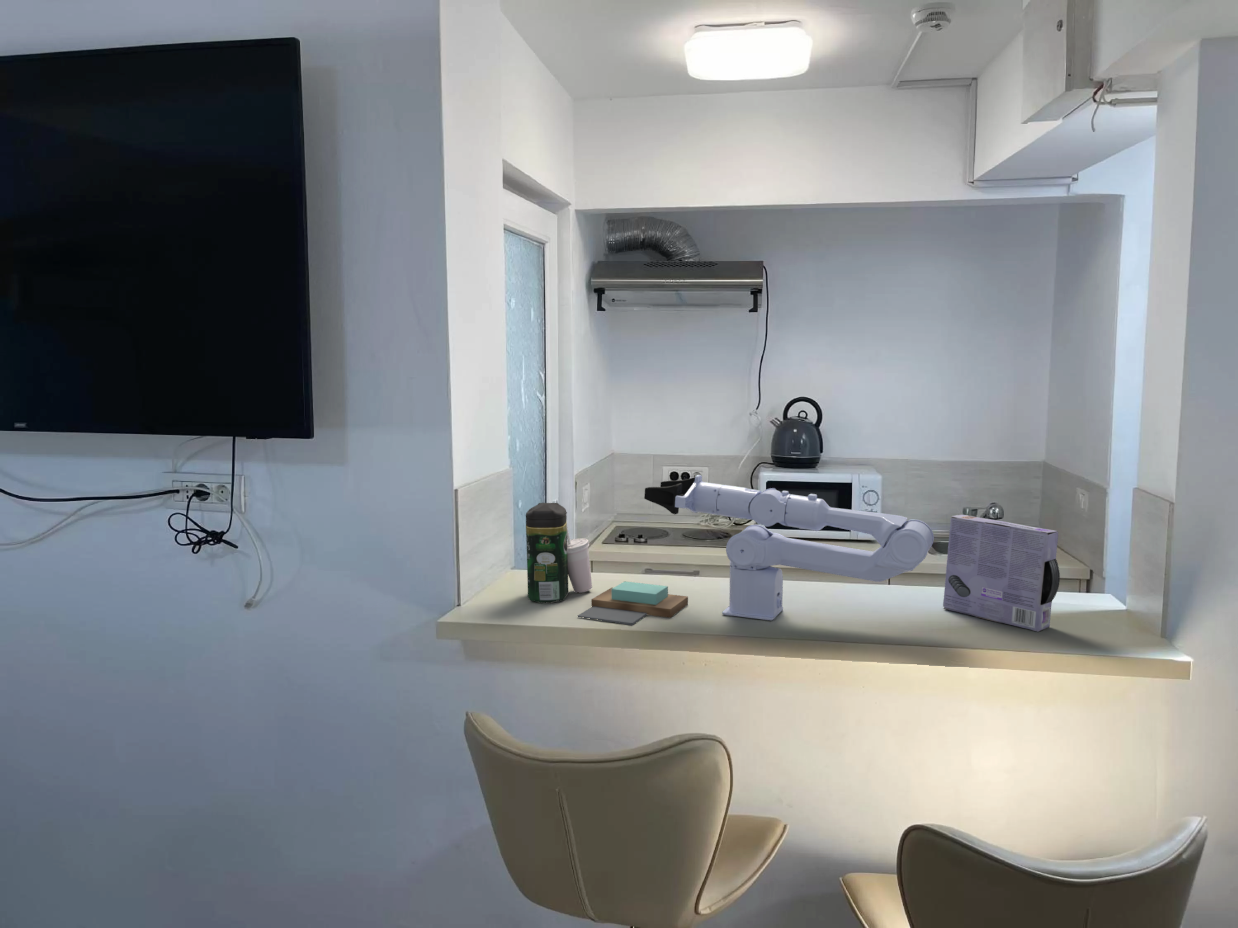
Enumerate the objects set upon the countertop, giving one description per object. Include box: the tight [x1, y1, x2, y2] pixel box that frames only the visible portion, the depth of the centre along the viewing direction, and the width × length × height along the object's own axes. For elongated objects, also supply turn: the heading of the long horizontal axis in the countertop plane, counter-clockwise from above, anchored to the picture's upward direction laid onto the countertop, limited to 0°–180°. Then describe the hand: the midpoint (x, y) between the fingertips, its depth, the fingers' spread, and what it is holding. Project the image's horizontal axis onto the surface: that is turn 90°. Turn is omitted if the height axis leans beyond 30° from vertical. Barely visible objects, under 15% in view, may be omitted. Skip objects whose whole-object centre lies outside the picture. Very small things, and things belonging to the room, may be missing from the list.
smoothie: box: [567, 526, 593, 594], centre depth 184 cm, size 6×6×14 cm
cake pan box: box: [942, 514, 1061, 633], centre depth 165 cm, size 19×5×18 cm, turn 41°
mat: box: [577, 606, 648, 626], centre depth 168 cm, size 11×7×1 cm, turn 65°
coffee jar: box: [525, 502, 569, 604], centre depth 180 cm, size 10×8×19 cm
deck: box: [590, 587, 689, 619], centre depth 175 cm, size 16×9×2 cm, turn 65°
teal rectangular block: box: [611, 581, 669, 605], centre depth 175 cm, size 9×6×2 cm, turn 65°
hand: (653, 490), depth 176 cm, fingers open, 7 cm apart
